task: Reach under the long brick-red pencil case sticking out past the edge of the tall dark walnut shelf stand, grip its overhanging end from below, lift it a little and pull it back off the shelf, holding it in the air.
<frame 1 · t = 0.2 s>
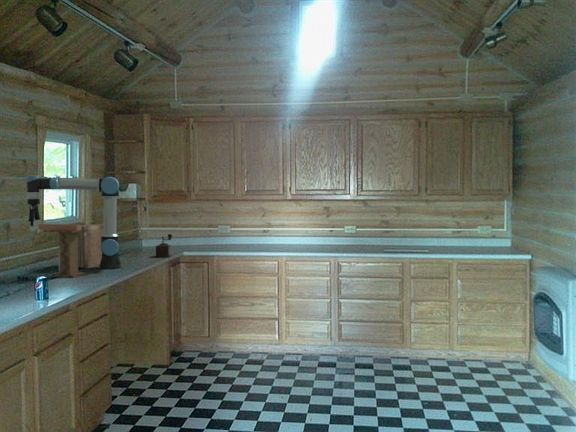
hand: (34, 230, 388), 29 cm above the worktop, tool pointing down, fingers open, 13 cm apart
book: (89, 266, 423), on the worktop
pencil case: (60, 229, 379), point 30 cm above the worktop, touching shelf stand
coffee grinder: (164, 256, 478), on the worktop
shelf stand: (67, 275, 380), on the worktop
milk carton: (66, 271, 400), on the worktop
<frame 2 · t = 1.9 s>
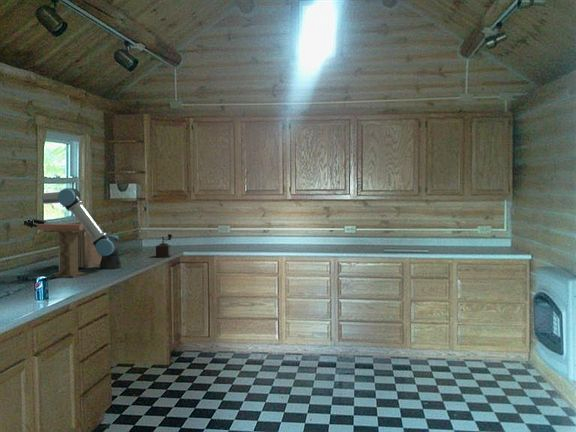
hand: (48, 226, 391), 31 cm above the worktop, tool horizontal, fingers open, 13 cm apart
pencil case: (60, 229, 379), point 30 cm above the worktop, touching gripper
everything else where it was.
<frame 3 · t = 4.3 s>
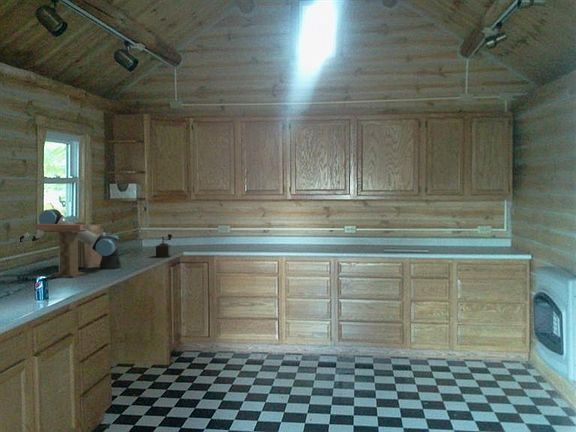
hand: (35, 233, 385), 27 cm above the worktop, tool pointing upward, fingers open, 13 cm apart
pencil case: (59, 229, 379), point 30 cm above the worktop, touching shelf stand
everything else where it was.
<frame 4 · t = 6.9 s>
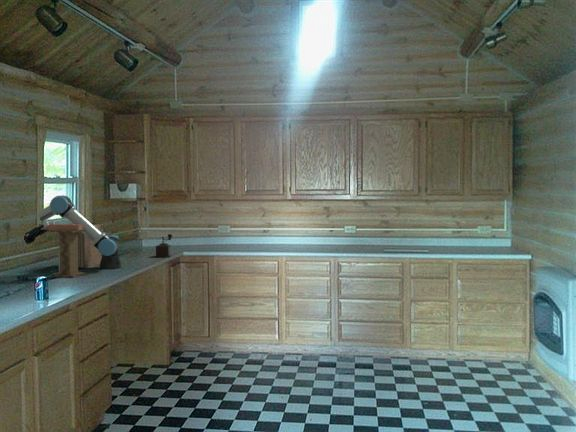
hand: (51, 222, 381), 34 cm above the worktop, tool pointing upward, fingers open, 5 cm apart
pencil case: (60, 229, 379), point 30 cm above the worktop, touching gripper, shelf stand
everything else where it was.
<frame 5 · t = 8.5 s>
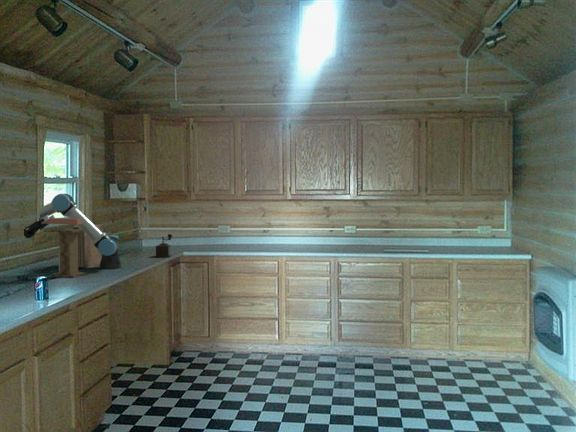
hand: (51, 216, 381), 38 cm above the worktop, tool pointing upward, fingers closed on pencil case, 4 cm apart
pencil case: (60, 223, 379), point 34 cm above the worktop, touching gripper
everything else where it was.
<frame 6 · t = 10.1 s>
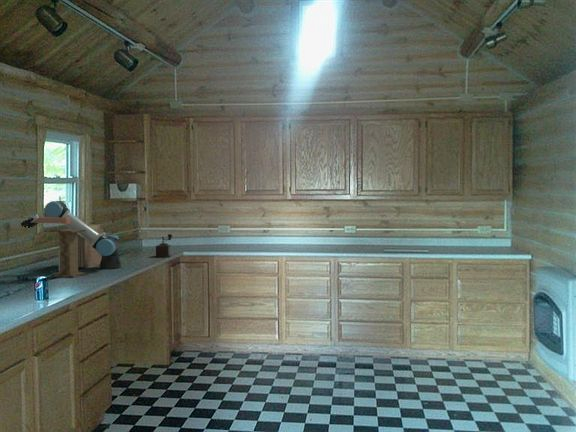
hand: (40, 215, 383), 39 cm above the worktop, tool pointing upward, fingers closed on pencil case, 4 cm apart
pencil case: (49, 222, 381), point 34 cm above the worktop, touching gripper
everything else where it was.
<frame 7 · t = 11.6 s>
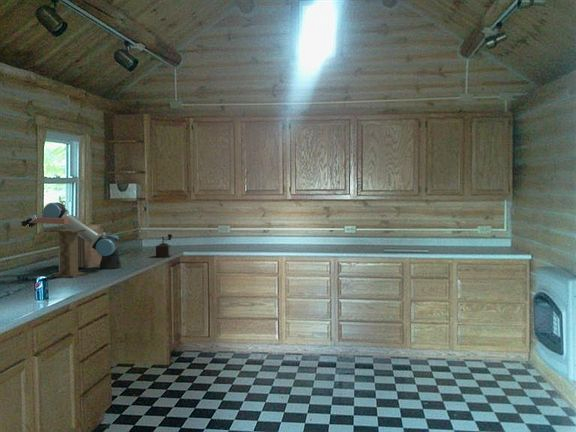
hand: (38, 216, 384), 38 cm above the worktop, tool pointing upward, fingers closed on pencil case, 4 cm apart
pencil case: (47, 223, 382), point 34 cm above the worktop, touching gripper
everything else where it was.
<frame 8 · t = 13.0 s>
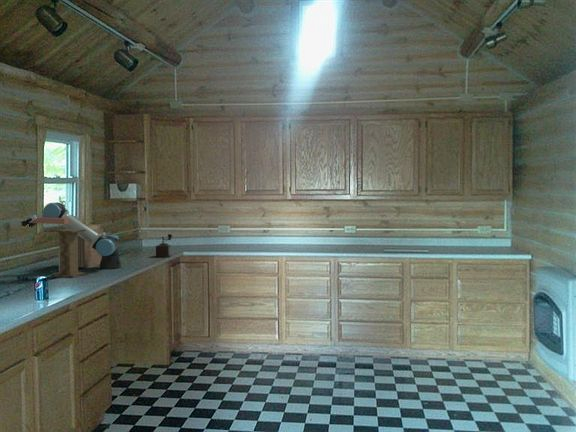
hand: (38, 216, 384), 38 cm above the worktop, tool pointing upward, fingers closed on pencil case, 4 cm apart
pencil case: (47, 223, 382), point 34 cm above the worktop, touching gripper
everything else where it was.
at the end: the gripper is holding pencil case; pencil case moved 10.6 cm from its start; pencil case point 34.0 cm above the worktop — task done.
